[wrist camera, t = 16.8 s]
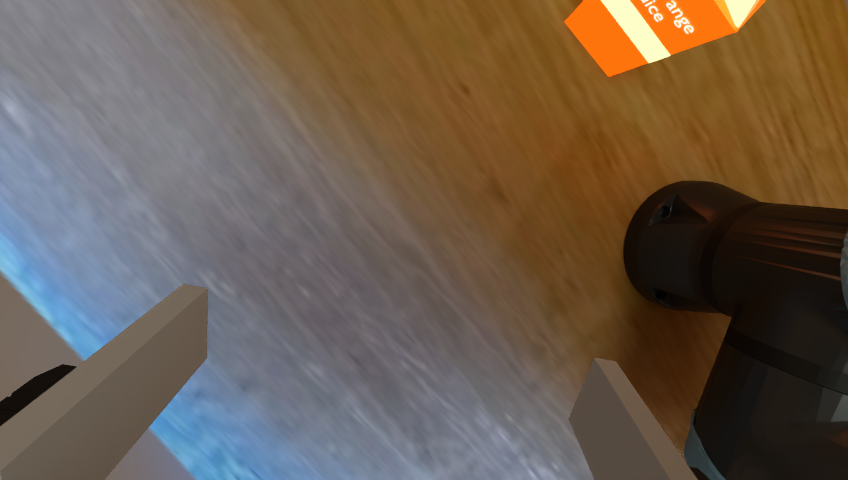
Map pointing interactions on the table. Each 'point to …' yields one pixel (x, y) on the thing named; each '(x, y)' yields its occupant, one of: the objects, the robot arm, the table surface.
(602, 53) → the orange juice
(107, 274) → the table surface
